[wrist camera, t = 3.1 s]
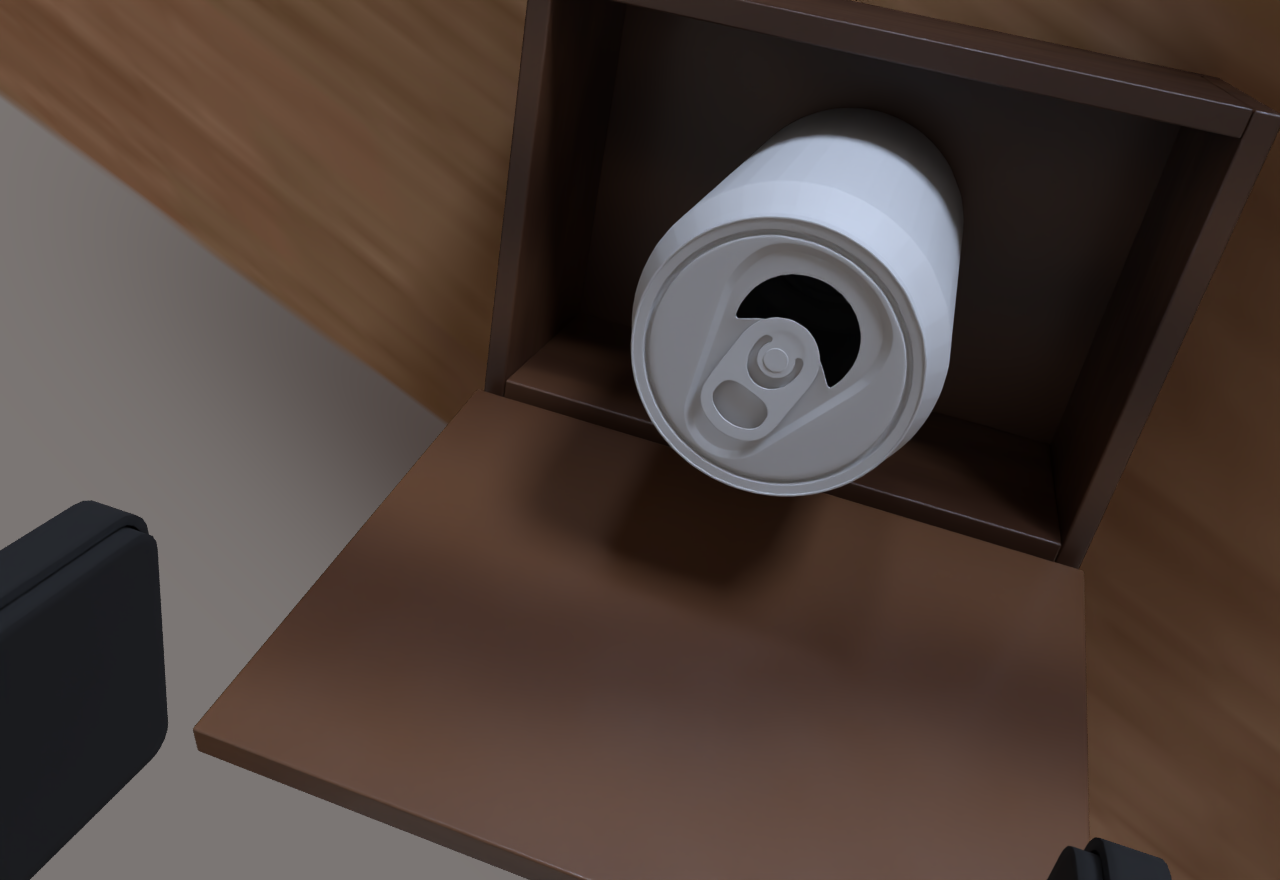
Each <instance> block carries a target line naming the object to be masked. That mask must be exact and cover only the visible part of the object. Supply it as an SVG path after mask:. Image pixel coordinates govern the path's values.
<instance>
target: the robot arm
mask: <svg viewBox="0 0 1280 880" xmlns="http://www.w3.org/2000/svg"><path fill="white" fill-rule="evenodd" d="M165 683H166V682H165V665H164V648H163V632H162V615H161V599H160V582H159V565H158V549H157V544H156V540H155V539H154V538H153V536H151V535H149V533H148V528H147V525H146V523H145V522H144V520H143V519H142V518H140V517H138V516H136V515H134V514H131V513H128V512H124V511H122V510H119V509H116V508H113V507H110V506H107V505H104V504H101V503H98V502H95V501H82V502H80V503H78V504H75V505H73V506H72V507H70V508H68V509H67V510H65V511H63V512H62V513H60V514H59V515H57V516H55V517H54V518H52V519H50V520H49V521H47V522H46V523H44V524H42V525H41V526H39V527H38V528H36V529H34V530H33V531H31V532H29V533H28V534H26V535H25V536H23V537H21V538H20V539H18V540H17V541H15V542H13V543H12V544H10V545H9V546H7V547H5V548H4V549H2V550H0V880H30V879H31V878H32V877H33V876H34V875H35V874H36V873H37V872H38V871H39V870H40V869H41V868H42V867H43V866H44V865H45V864H46V863H47V862H48V861H49V860H50V859H51V858H52V857H53V856H54V855H55V854H56V853H57V852H58V851H59V850H60V849H61V848H62V847H63V846H64V845H65V844H66V843H67V842H68V841H69V840H70V839H71V838H72V837H73V836H74V835H76V834H77V833H78V832H79V831H80V830H81V829H82V828H83V827H84V826H85V825H86V824H87V823H88V822H89V821H90V820H91V819H92V817H94V816H95V814H97V813H98V812H99V811H100V810H101V809H102V808H103V807H104V806H105V805H106V804H107V803H108V802H109V801H110V800H111V799H112V798H113V797H114V796H115V795H116V794H117V793H118V792H119V791H120V790H121V789H122V788H123V787H124V786H125V785H126V784H127V783H128V782H129V781H130V780H131V779H132V778H133V777H134V776H135V775H136V774H137V773H138V772H139V771H140V770H141V769H142V768H143V767H144V766H145V765H146V764H147V763H148V762H149V761H150V760H151V759H152V758H153V757H154V756H155V755H156V753H157V752H158V750H159V749H160V747H161V745H162V743H163V741H164V739H165V736H166V733H167V728H168V717H167V716H168V715H167V701H166V700H167V698H166V684H165ZM1047 880H1172V879H1171V875H1170V872H1169V869H1168V866H1167V864H1166V863H1165V862H1164V860H1163V859H1161V858H1158V857H1155V856H1152V855H1149V854H1146V853H1143V852H1140V851H1137V850H1134V849H1131V848H1128V847H1125V846H1122V845H1119V844H1116V843H1113V842H1110V841H1107V840H1104V839H1101V838H1093V839H1092V840H1091V841H1089V843H1088V844H1087V846H1086V847H1085V849H1084V850H1082V849H1079V848H1076V847H1073V846H1067V847H1066V848H1064V849H1063V851H1062V853H1061V854H1060V856H1059V858H1058V860H1057V862H1056V863H1055V865H1054V867H1053V869H1052V871H1051V873H1050V875H1049V877H1048V879H1047Z"/></svg>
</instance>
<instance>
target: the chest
mask: <svg viewBox="0 0 1280 880" xmlns="http://www.w3.org/2000/svg"><path fill="white" fill-rule="evenodd" d="M838 108H862V109H869V110H874V111H879V112H883V113H886V114H888V115H891V116H894V117H896V118H898V119H900V120H903V121H904V122H906V123H908V124H909V125H911V126H913V127H914V128H916V129H917V130H919V131H920V132H921V133H922V134H924V135H925V136H926V137H927V138H928V139H929V140H930V141H931V142H932V143H933V144H934V145H935V146H936V147H937V149H938V150H939V151H940V152H941V154H942V155H943V156H944V158H945V159H946V161H947V162H948V164H949V166H950V168H951V170H952V172H953V175H954V178H955V180H956V183H957V186H958V188H959V191H960V194H961V198H962V204H963V216H964V224H963V235H962V245H961V254H960V264H959V274H958V283H957V293H956V303H955V312H954V322H953V331H952V341H951V351H950V360H949V367H948V371H947V375H946V378H945V382H944V385H943V388H942V391H941V393H940V396H939V398H938V400H937V402H936V404H935V406H934V408H933V409H932V411H931V413H930V415H929V417H928V418H927V419H926V421H925V422H924V424H923V425H922V426H921V428H920V429H919V430H918V431H917V433H916V434H915V435H914V436H913V437H912V438H911V439H910V440H909V441H908V442H907V443H906V444H905V445H904V446H903V447H901V448H900V449H899V450H898V451H896V452H895V453H894V454H893V455H891V456H890V457H888V458H887V459H885V460H884V461H883V462H882V463H880V464H879V465H878V466H877V467H875V468H874V469H873V470H871V471H870V472H868V473H867V474H865V475H864V476H862V477H860V478H858V479H857V480H855V481H853V482H851V483H849V484H846V485H844V486H842V487H839V488H836V489H833V490H830V491H826V492H822V493H825V494H829V495H832V496H835V497H839V498H842V499H845V500H849V501H852V502H855V503H859V504H862V505H865V506H869V507H872V508H875V509H879V510H882V511H885V512H889V513H892V514H895V515H899V516H902V517H905V518H909V519H912V520H915V521H919V522H922V523H925V524H929V525H932V526H935V527H939V528H942V529H945V530H949V531H952V532H955V533H959V534H962V535H965V536H969V537H972V538H975V539H979V540H982V541H985V542H989V543H992V544H995V545H999V546H1002V547H1005V548H1009V549H1012V550H1015V551H1019V552H1022V553H1025V554H1029V555H1032V556H1035V557H1039V558H1042V559H1045V560H1049V561H1052V562H1054V561H1055V562H1056V563H1059V564H1062V565H1066V566H1069V567H1072V568H1076V569H1079V568H1080V565H1081V563H1082V561H1083V559H1084V557H1085V554H1086V552H1087V550H1088V548H1089V546H1090V543H1091V541H1092V539H1093V537H1094V535H1095V532H1096V530H1097V528H1098V526H1099V524H1100V521H1101V519H1102V517H1103V515H1104V513H1105V510H1106V508H1107V506H1108V504H1109V502H1110V499H1111V497H1112V495H1113V493H1114V491H1115V489H1116V486H1117V484H1118V482H1119V480H1120V478H1121V475H1122V473H1123V471H1124V469H1125V467H1126V464H1127V462H1128V460H1129V458H1130V456H1131V453H1132V451H1133V449H1134V447H1135V445H1136V442H1137V440H1138V438H1139V436H1140V434H1141V431H1142V429H1143V427H1144V425H1145V423H1146V420H1147V418H1148V416H1149V414H1150V412H1151V409H1152V407H1153V405H1154V403H1155V401H1156V399H1157V396H1158V394H1159V392H1160V390H1161V388H1162V385H1163V383H1164V381H1165V379H1166V377H1167V374H1168V372H1169V370H1170V368H1171V366H1172V363H1173V361H1174V359H1175V357H1176V355H1177V352H1178V350H1179V348H1180V346H1181V344H1182V341H1183V339H1184V337H1185V335H1186V333H1187V330H1188V328H1189V326H1190V324H1191V322H1192V320H1193V317H1194V315H1195V313H1196V311H1197V309H1198V306H1199V304H1200V302H1201V300H1202V298H1203V295H1204V293H1205V291H1206V289H1207V287H1208V284H1209V282H1210V280H1211V278H1212V276H1213V273H1214V271H1215V269H1216V267H1217V265H1218V262H1219V260H1220V258H1221V256H1222V254H1223V251H1224V249H1225V247H1226V245H1227V243H1228V241H1229V238H1230V236H1231V234H1232V232H1233V230H1234V227H1235V225H1236V223H1237V221H1238V219H1239V216H1240V214H1241V212H1242V210H1243V208H1244V205H1245V203H1246V201H1247V199H1248V197H1249V194H1250V192H1251V190H1252V188H1253V186H1254V183H1255V181H1256V179H1257V177H1258V175H1259V172H1260V170H1261V168H1262V166H1263V164H1264V162H1265V159H1266V157H1267V155H1268V153H1269V151H1270V148H1271V146H1272V144H1273V142H1274V140H1275V137H1276V135H1277V133H1278V131H1279V129H1280V113H1278V112H1276V111H1274V110H1273V109H1271V108H1269V107H1268V106H1266V105H1264V104H1262V103H1261V102H1259V101H1257V100H1256V99H1254V98H1252V97H1251V96H1249V95H1247V94H1245V93H1244V92H1242V91H1240V90H1239V89H1237V88H1235V87H1233V86H1232V85H1230V84H1228V83H1227V82H1225V81H1223V80H1222V79H1220V78H1216V77H1211V76H1206V75H1202V74H1197V73H1192V72H1187V71H1183V70H1178V69H1173V68H1168V67H1164V66H1159V65H1154V64H1149V63H1145V62H1140V61H1135V60H1130V59H1125V58H1121V57H1116V56H1111V55H1106V54H1102V53H1097V52H1092V51H1087V50H1083V49H1078V48H1073V47H1068V46H1064V45H1059V44H1054V43H1049V42H1045V41H1040V40H1035V39H1030V38H1026V37H1021V36H1016V35H1011V34H1007V33H1002V32H997V31H992V30H988V29H983V28H978V27H973V26H969V25H964V24H959V23H954V22H949V21H945V20H940V19H935V18H930V17H926V16H921V15H916V14H911V13H907V12H902V11H897V10H892V9H888V8H883V7H878V6H873V5H869V4H864V3H859V2H854V1H850V0H528V1H527V10H526V19H525V28H524V37H523V46H522V55H521V64H520V73H519V82H518V91H517V100H516V109H515V118H514V127H513V136H512V145H511V154H510V163H509V172H508V181H507V190H506V199H505V208H504V217H503V226H502V235H501V244H500V254H499V263H498V272H497V281H496V290H495V299H494V308H493V317H492V326H491V335H490V344H489V353H488V362H487V371H486V380H485V389H484V391H485V392H488V393H492V394H495V395H498V396H502V397H505V398H508V399H512V400H515V401H518V402H522V403H525V404H528V405H532V406H535V407H538V408H542V409H545V410H548V411H552V412H555V413H558V414H562V415H565V416H568V417H572V418H575V419H578V420H582V421H585V422H588V423H592V424H595V425H598V426H602V427H605V428H608V429H612V430H615V431H618V432H622V433H625V434H628V435H632V436H635V437H638V438H642V439H645V440H648V441H652V442H655V443H658V444H662V445H665V446H668V447H671V446H670V445H669V444H668V443H667V442H666V441H665V439H664V438H663V437H662V436H661V434H660V433H659V432H658V430H657V429H656V427H655V426H654V424H653V423H652V421H651V419H650V418H649V416H648V414H647V412H646V410H645V408H644V406H643V404H642V401H641V399H640V396H639V393H638V390H637V387H636V384H635V380H634V375H633V369H632V362H631V335H632V311H633V303H634V298H635V293H636V289H637V286H638V282H639V279H640V277H641V274H642V272H643V269H644V267H645V265H646V263H647V261H648V259H649V257H650V255H651V253H652V252H653V250H654V248H655V247H656V245H657V244H658V242H659V241H660V240H661V239H662V237H663V236H664V235H665V234H666V233H667V231H668V230H669V229H670V228H671V227H672V226H673V225H674V224H675V223H676V222H677V221H678V220H679V219H680V218H681V217H683V216H684V215H685V214H686V213H687V212H688V211H689V210H690V209H692V208H693V207H694V206H695V205H696V204H697V203H698V202H699V201H701V200H702V199H703V198H704V197H705V196H706V195H707V194H708V193H710V192H711V191H712V190H713V189H714V188H715V187H716V186H717V185H719V184H720V183H721V182H722V181H723V180H724V179H725V178H726V177H728V176H729V175H730V174H731V173H732V172H733V171H734V170H735V169H737V168H738V167H739V166H740V165H741V164H742V163H743V162H744V161H746V160H747V159H748V158H749V157H750V156H751V155H752V154H753V153H755V152H756V151H757V150H758V149H759V148H760V147H761V146H762V145H764V144H765V143H766V142H767V141H768V140H769V139H770V138H772V137H773V136H774V135H775V134H776V133H778V132H779V131H780V130H781V129H783V128H784V127H786V126H788V125H789V124H791V123H793V122H795V121H797V120H799V119H801V118H803V117H806V116H808V115H811V114H814V113H817V112H821V111H825V110H831V109H838Z"/></svg>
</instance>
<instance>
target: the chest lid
mask: <svg viewBox="0 0 1280 880" xmlns="http://www.w3.org/2000/svg"><path fill="white" fill-rule="evenodd" d="M193 732H194V736H195V740H196V744H197V748H198V750H199V751H200V752H203V753H206V754H208V755H211V756H213V757H216V758H219V759H221V760H224V761H226V762H229V763H231V764H234V765H236V766H239V767H242V768H244V769H247V770H249V771H252V772H254V773H257V774H259V775H262V776H265V777H267V778H270V779H272V780H275V781H277V782H280V783H282V784H285V785H288V786H290V787H293V788H295V789H298V790H301V791H303V792H306V793H308V794H311V795H314V796H316V797H319V798H321V799H324V800H326V801H329V802H331V803H334V804H336V805H339V806H342V807H344V808H347V809H349V810H352V811H355V812H357V813H360V814H362V815H365V816H367V817H370V818H372V819H375V820H378V821H380V822H383V823H385V824H388V825H390V826H393V827H396V828H398V829H401V830H403V831H406V832H409V833H411V834H414V835H416V836H419V837H421V838H424V839H426V840H429V841H432V842H434V843H436V844H439V845H442V846H444V847H447V848H449V849H452V850H454V851H457V852H460V853H462V854H465V855H467V856H470V857H472V858H475V859H478V860H480V861H483V862H485V863H488V864H490V865H493V866H496V867H498V868H501V869H503V870H506V871H508V872H511V873H513V874H516V875H519V876H521V877H524V878H527V879H529V880H1047V879H1048V877H1049V875H1050V873H1051V871H1052V869H1053V867H1054V865H1055V863H1056V862H1057V860H1058V858H1059V856H1060V854H1061V853H1062V851H1063V849H1064V848H1066V847H1067V846H1073V847H1076V848H1079V849H1082V850H1084V849H1085V847H1086V846H1087V844H1088V843H1089V841H1090V832H1089V783H1088V734H1087V685H1086V635H1085V586H1084V571H1082V570H1079V569H1076V568H1072V567H1069V566H1066V565H1062V564H1059V563H1056V562H1052V561H1049V560H1045V559H1042V558H1039V557H1035V556H1032V555H1029V554H1025V553H1022V552H1019V551H1015V550H1012V549H1009V548H1005V547H1002V546H999V545H995V544H992V543H989V542H985V541H982V540H979V539H975V538H972V537H969V536H965V535H962V534H959V533H955V532H952V531H949V530H945V529H942V528H939V527H935V526H932V525H929V524H925V523H922V522H919V521H915V520H912V519H909V518H905V517H902V516H899V515H895V514H892V513H889V512H885V511H882V510H879V509H875V508H872V507H869V506H865V505H862V504H859V503H855V502H852V501H849V500H845V499H842V498H839V497H835V496H832V495H829V494H825V493H818V494H812V495H806V496H794V497H781V496H768V495H762V494H756V493H752V492H747V491H744V490H740V489H737V488H734V487H731V486H728V485H726V484H724V483H722V482H719V481H717V480H715V479H713V478H711V477H709V476H708V475H706V474H704V473H703V472H701V471H700V470H698V469H696V468H695V467H694V466H692V465H691V464H689V463H688V462H687V461H686V460H685V459H683V458H682V457H681V456H680V455H679V454H678V453H677V452H676V451H675V450H674V449H673V448H672V447H668V446H665V445H662V444H658V443H655V442H652V441H648V440H645V439H642V438H638V437H635V436H632V435H628V434H625V433H622V432H618V431H615V430H612V429H608V428H605V427H602V426H598V425H595V424H592V423H588V422H585V421H582V420H578V419H575V418H572V417H568V416H565V415H562V414H558V413H555V412H552V411H548V410H545V409H542V408H538V407H535V406H532V405H528V404H525V403H522V402H518V401H515V400H512V399H508V398H505V397H502V396H498V395H495V394H492V393H488V392H485V391H482V390H476V391H475V393H474V394H473V395H472V396H471V397H470V399H469V400H468V401H467V402H466V403H465V405H464V406H463V407H462V408H461V409H460V411H459V412H458V413H457V414H456V415H455V417H454V418H453V419H452V420H451V421H450V422H449V424H448V425H447V426H446V427H445V428H444V430H443V431H442V432H441V434H439V436H438V437H437V438H436V439H435V441H434V442H433V443H432V444H431V445H430V446H429V448H428V449H427V450H426V451H425V452H424V454H423V455H422V456H421V457H420V458H419V459H418V461H417V462H416V463H415V464H414V465H413V467H412V468H411V469H410V470H409V471H408V473H407V474H406V475H405V476H404V477H403V479H402V480H401V481H400V482H399V484H398V485H397V486H396V487H395V488H394V489H393V490H392V492H391V493H390V494H389V495H388V496H387V498H386V499H385V500H384V501H383V502H382V504H381V505H380V506H379V507H378V508H377V510H376V511H375V512H374V513H373V514H372V515H371V517H370V518H369V519H368V520H367V522H366V523H365V524H364V525H363V526H362V527H361V529H360V530H359V531H358V532H357V533H356V535H355V536H354V537H353V538H352V539H351V541H350V542H349V543H348V544H347V545H346V547H345V548H344V549H343V550H342V551H341V553H340V554H339V555H338V556H337V557H336V558H335V560H334V561H333V562H332V563H331V564H330V566H329V567H328V568H327V569H326V570H325V572H324V573H323V574H322V575H321V576H320V578H319V579H318V580H317V581H316V582H315V584H314V585H313V586H312V587H311V588H310V590H309V591H308V592H307V593H306V594H305V596H304V597H303V598H302V599H301V600H300V601H299V603H298V604H297V605H296V606H295V607H294V608H293V610H292V611H291V612H290V613H289V615H288V616H287V617H286V618H285V619H284V621H283V622H282V623H281V624H280V625H279V626H278V628H277V629H276V630H275V631H274V632H273V634H272V635H271V636H270V637H269V638H268V640H267V641H266V642H265V643H264V644H263V646H262V647H261V648H260V649H259V650H258V651H257V653H256V654H255V655H254V656H253V657H252V659H251V660H250V661H249V662H248V664H247V665H246V666H245V667H244V668H243V669H242V670H241V672H240V673H239V674H238V675H237V677H236V678H235V679H234V680H233V681H232V682H231V684H230V685H229V686H228V687H227V688H226V690H225V691H224V692H223V693H222V694H221V696H220V697H219V698H218V699H217V700H216V702H215V703H214V704H213V705H212V706H211V707H210V709H209V710H208V711H207V712H206V713H205V715H204V716H203V717H202V718H201V719H200V721H199V722H198V723H197V724H196V725H195V727H194V728H193Z"/></svg>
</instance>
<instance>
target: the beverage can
mask: <svg viewBox="0 0 1280 880" xmlns="http://www.w3.org/2000/svg"><path fill="white" fill-rule="evenodd" d="M963 224H964V216H963V204H962V198H961V194H960V191H959V188H958V186H957V183H956V180H955V178H954V175H953V172H952V170H951V168H950V166H949V164H948V162H947V161H946V159H945V158H944V156H943V155H942V154H941V152H940V151H939V150H938V149H937V147H936V146H935V145H934V144H933V143H932V142H931V141H930V140H929V139H928V138H927V137H926V136H925V135H924V134H922V133H921V132H920V131H919V130H917V129H916V128H914V127H913V126H911V125H909V124H908V123H906V122H904V121H903V120H900V119H898V118H896V117H894V116H891V115H888V114H886V113H883V112H879V111H874V110H869V109H862V108H838V109H831V110H825V111H821V112H817V113H814V114H811V115H808V116H806V117H803V118H801V119H799V120H797V121H795V122H793V123H791V124H789V125H788V126H786V127H784V128H783V129H781V130H780V131H779V132H778V133H776V134H775V135H774V136H773V137H772V138H770V139H769V140H768V141H767V142H766V143H765V144H764V145H762V146H761V147H760V148H759V149H758V150H757V151H756V152H755V153H753V154H752V155H751V156H750V157H749V158H748V159H747V160H746V161H744V162H743V163H742V164H741V165H740V166H739V167H738V168H737V169H735V170H734V171H733V172H732V173H731V174H730V175H729V176H728V177H726V178H725V179H724V180H723V181H722V182H721V183H720V184H719V185H717V186H716V187H715V188H714V189H713V190H712V191H711V192H710V193H708V194H707V195H706V196H705V197H704V198H703V199H702V200H701V201H699V202H698V203H697V204H696V205H695V206H694V207H693V208H692V209H690V210H689V211H688V212H687V213H686V214H685V215H684V216H683V217H681V218H680V219H679V220H678V221H677V222H676V223H675V224H674V225H673V226H672V227H671V228H670V229H669V230H668V231H667V233H666V234H665V235H664V236H663V237H662V239H661V240H660V241H659V242H658V244H657V245H656V247H655V248H654V250H653V252H652V253H651V255H650V257H649V259H648V261H647V263H646V265H645V267H644V269H643V272H642V274H641V277H640V279H639V282H638V286H637V289H636V293H635V298H634V303H633V311H632V335H631V362H632V369H633V375H634V380H635V384H636V387H637V390H638V393H639V396H640V399H641V401H642V404H643V406H644V408H645V410H646V412H647V414H648V416H649V418H650V419H651V421H652V423H653V424H654V426H655V427H656V429H657V430H658V432H659V433H660V434H661V436H662V437H663V438H664V439H665V441H666V442H667V443H668V444H669V445H670V446H671V447H672V448H673V449H674V450H675V451H676V452H677V453H678V454H679V455H680V456H681V457H682V458H683V459H685V460H686V461H687V462H688V463H689V464H691V465H692V466H694V467H695V468H696V469H698V470H700V471H701V472H703V473H704V474H706V475H708V476H709V477H711V478H713V479H715V480H717V481H719V482H722V483H724V484H726V485H728V486H731V487H734V488H737V489H740V490H744V491H747V492H752V493H756V494H762V495H768V496H781V497H794V496H806V495H812V494H818V493H822V492H826V491H830V490H833V489H836V488H839V487H842V486H844V485H846V484H849V483H851V482H853V481H855V480H857V479H858V478H860V477H862V476H864V475H865V474H867V473H868V472H870V471H871V470H873V469H874V468H875V467H877V466H878V465H879V464H880V463H882V462H883V461H884V460H885V459H887V458H888V457H890V456H891V455H893V454H894V453H895V452H896V451H898V450H899V449H900V448H901V447H903V446H904V445H905V444H906V443H907V442H908V441H909V440H910V439H911V438H912V437H913V436H914V435H915V434H916V433H917V431H918V430H919V429H920V428H921V426H922V425H923V424H924V422H925V421H926V419H927V418H928V417H929V415H930V413H931V411H932V409H933V408H934V406H935V404H936V402H937V400H938V398H939V396H940V393H941V391H942V388H943V385H944V382H945V378H946V375H947V371H948V367H949V360H950V351H951V341H952V331H953V322H954V312H955V303H956V293H957V283H958V274H959V264H960V254H961V245H962V235H963Z"/></svg>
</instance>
